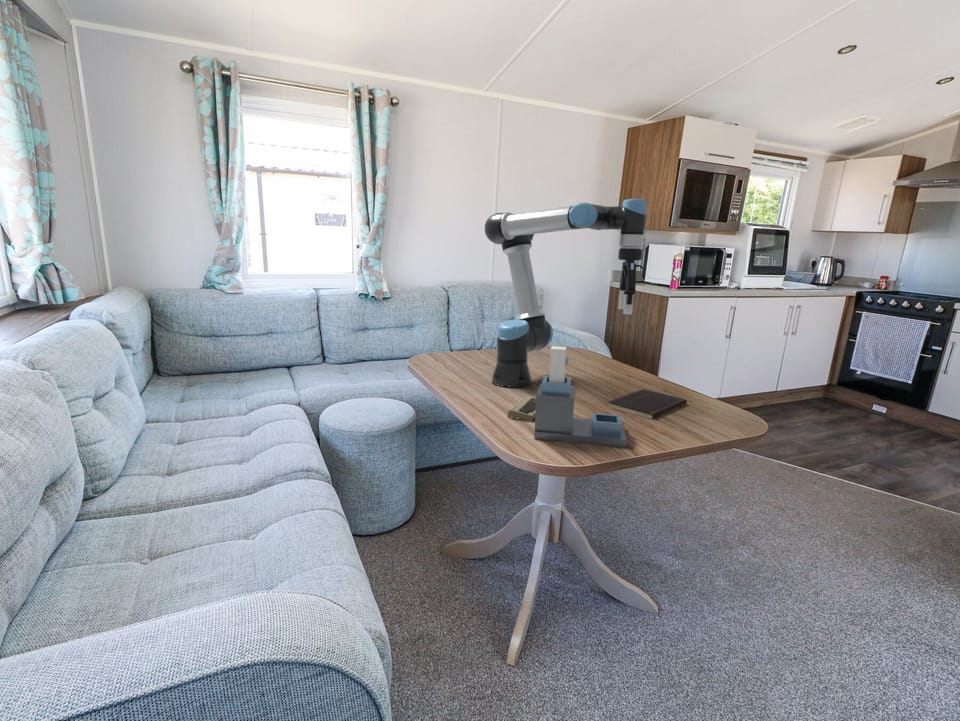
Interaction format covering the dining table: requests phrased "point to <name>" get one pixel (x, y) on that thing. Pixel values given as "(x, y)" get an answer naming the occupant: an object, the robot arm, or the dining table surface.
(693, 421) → the dining table surface
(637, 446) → the dining table surface
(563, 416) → the stepped holder stand
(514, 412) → the olive rectangular tray
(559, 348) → the plug
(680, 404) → the hardcover book
